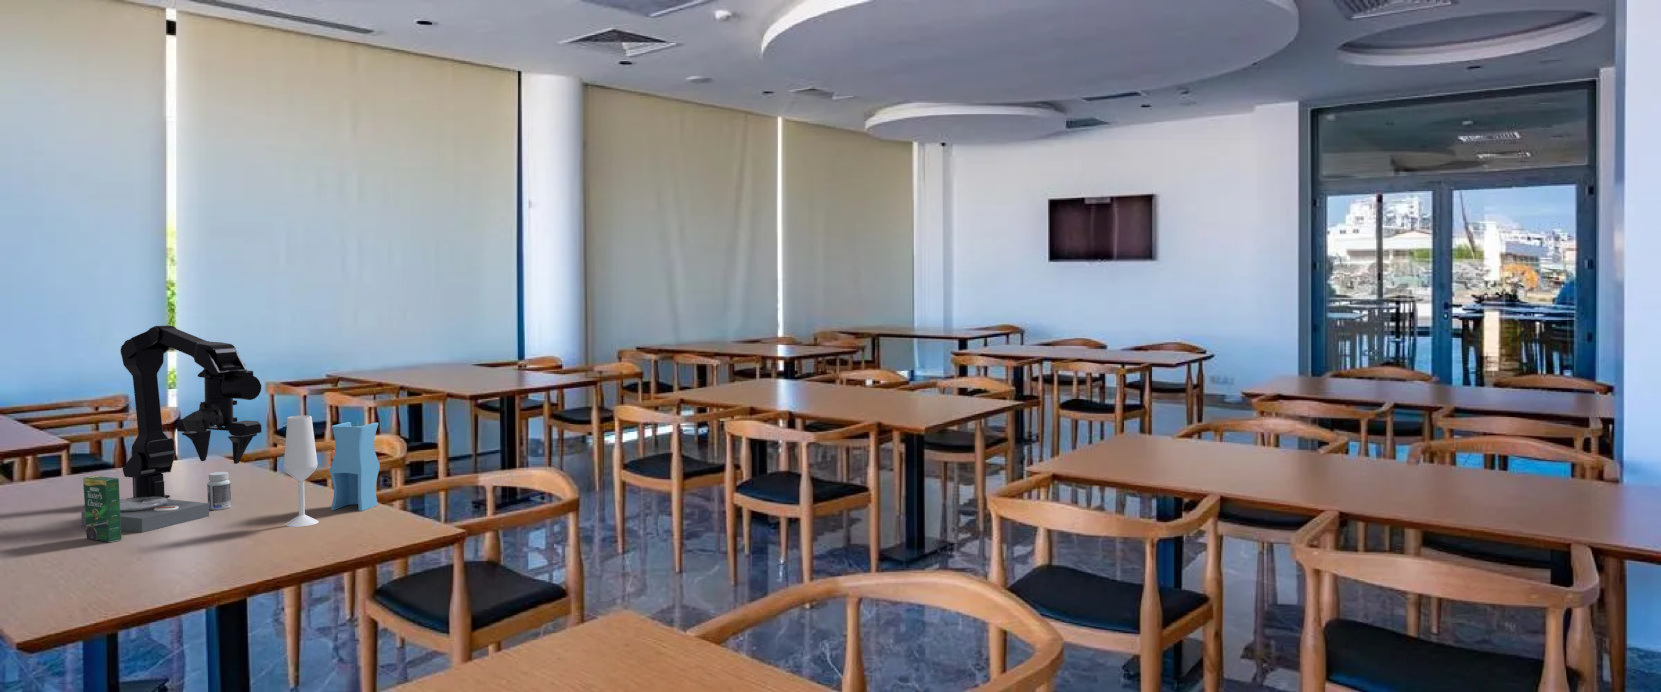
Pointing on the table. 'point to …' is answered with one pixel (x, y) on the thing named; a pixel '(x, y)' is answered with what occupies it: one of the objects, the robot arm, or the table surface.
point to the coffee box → (102, 508)
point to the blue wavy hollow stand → (354, 466)
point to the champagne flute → (300, 461)
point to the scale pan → (141, 503)
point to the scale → (161, 515)
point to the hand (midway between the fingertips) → (219, 462)
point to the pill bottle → (219, 491)
